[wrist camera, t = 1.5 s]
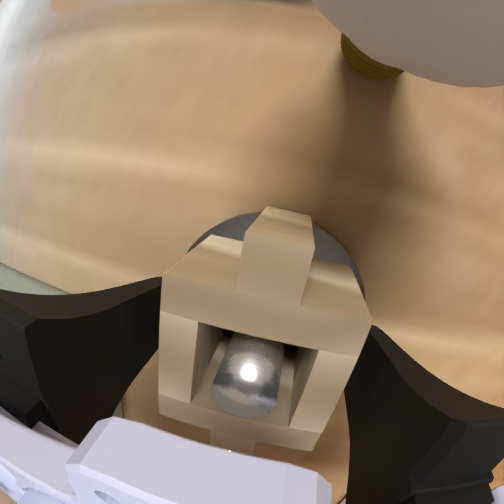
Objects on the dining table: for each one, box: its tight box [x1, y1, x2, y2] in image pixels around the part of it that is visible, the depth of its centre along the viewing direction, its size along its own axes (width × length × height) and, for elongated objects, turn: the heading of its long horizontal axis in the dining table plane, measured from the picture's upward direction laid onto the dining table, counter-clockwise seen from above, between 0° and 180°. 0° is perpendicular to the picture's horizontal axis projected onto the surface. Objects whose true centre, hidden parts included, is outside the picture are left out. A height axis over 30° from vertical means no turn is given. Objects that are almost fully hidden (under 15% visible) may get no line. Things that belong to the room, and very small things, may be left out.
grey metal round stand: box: [186, 212, 365, 418], centre depth 10 cm, size 8×8×6 cm
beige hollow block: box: [158, 206, 373, 455], centre depth 10 cm, size 8×5×4 cm, turn 170°
